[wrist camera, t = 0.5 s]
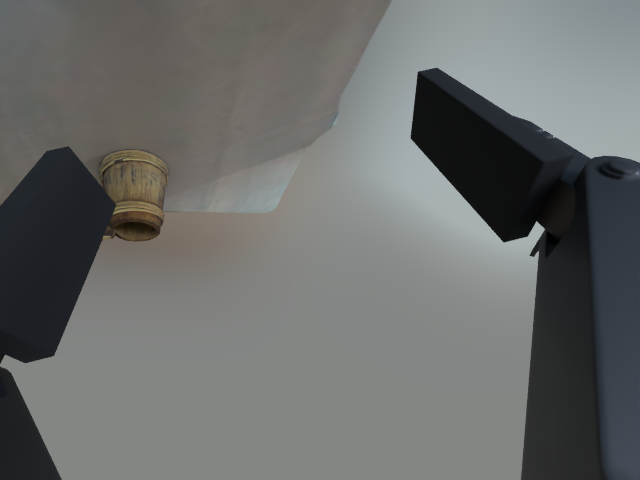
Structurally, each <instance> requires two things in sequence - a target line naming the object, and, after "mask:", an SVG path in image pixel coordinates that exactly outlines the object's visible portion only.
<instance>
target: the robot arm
mask: <svg viewBox="0 0 640 480" xmlns="http://www.w3.org/2000/svg"><path fill="white" fill-rule="evenodd" d="M411 139H412V140H413V141H414V142H415V144H416V145H417V146H418V147H419V148H420V149H421V150H422V152H423V153H424V154H425V155H426V156H427V157H428V158H429V159H430V160H431V162H432V163H433V164H434V165H435V166H436V167H437V168H438V169H439V171H440V172H441V173H442V174H443V175H444V176H445V177H446V178H447V180H448V181H449V182H450V183H451V184H452V185H453V186H454V187H455V188H456V190H457V191H458V192H459V193H460V194H461V195H462V196H463V197H464V198H465V200H466V201H467V202H468V203H469V204H470V205H471V206H472V207H473V208H474V210H475V211H476V212H477V213H478V214H479V215H480V216H481V218H482V219H483V220H484V221H485V222H486V223H487V224H488V225H489V226H490V227H491V229H492V230H493V231H494V232H495V233H496V234H497V235H498V237H500V239H501V240H502V241H503V242H507V241H511V240H515V239H519V238H523V237H527V236H528V235H529V233H530V231H531V230H532V228H533V226H534V225H535V223H536V221H537V222H538V223H539V224H540V225H541V226H543V227H544V228H545V230H544V232H543V234H542V235H541V237H540V238H539V240H538V242H537V243H536V245H535V247H534V248H533V250H532V252H531V254H530V256H533V257H534V256H535V254H536V253H537V252H538V251H539V260H538V272H537V284H536V297H535V310H534V322H533V335H532V348H531V361H530V374H529V386H528V399H527V411H526V424H525V436H524V449H523V462H522V475H521V480H640V163H639V162H636V161H633V160H631V159H626V158H621V157H616V156H615V157H614V156H601V157H594V158H592V159H590V158H589V157H587V156H585V155H584V154H582V153H580V152H579V151H577V150H576V149H574V148H572V147H571V146H569V145H568V144H566V143H564V142H562V141H561V140H559V139H558V138H556V137H555V138H553V135H551V134H550V133H548V132H546V131H543V129H542V128H540V127H538V126H537V125H535V124H533V123H532V122H530V121H527V120H524V119H521V118H518V117H515V116H512V115H510V114H509V113H507V112H506V111H504V110H502V109H501V108H499V107H498V106H496V105H494V104H493V103H491V102H490V101H488V100H487V99H485V98H484V97H482V96H480V95H479V94H477V93H476V92H474V91H473V90H471V89H469V88H468V87H466V86H465V85H463V84H462V83H460V82H458V81H457V80H455V79H454V78H452V77H451V76H449V75H448V74H446V73H444V72H443V71H441V70H440V69H438V68H433V69H429V70H425V71H419V72H418V76H417V85H416V94H415V104H414V112H413V122H412V131H411ZM115 208H116V204H115V202H114V201H113V200H112V199H111V198H110V196H109V195H108V194H107V193H106V191H105V190H104V189H103V188H102V187H101V185H100V184H99V183H98V182H97V180H96V179H95V178H94V177H93V176H92V174H91V173H90V172H89V171H88V169H87V168H86V167H85V166H84V165H83V163H82V162H81V161H80V160H79V158H78V157H77V156H76V155H75V154H74V152H73V151H72V150H71V149H70V147H69V146H68V147H64V148H59V149H54V150H50V151H46V153H45V154H44V155H43V156H42V157H41V159H40V160H39V161H38V162H37V163H36V165H35V166H34V167H33V168H32V169H31V170H30V172H29V173H28V174H27V175H26V176H25V178H24V179H23V180H22V181H21V182H20V184H19V185H18V186H17V187H16V188H15V190H14V191H13V192H12V193H11V194H10V195H9V197H8V198H7V199H6V200H5V201H4V203H3V204H2V205H1V206H0V363H1V361H2V359H3V357H4V355H8V356H10V357H12V358H14V359H17V360H19V361H21V362H24V363H28V362H32V361H35V360H40V359H44V358H48V357H52V356H54V355H55V352H56V350H57V347H58V345H59V342H60V340H61V337H62V335H63V333H64V330H65V328H66V326H67V323H68V321H69V318H70V316H71V314H72V311H73V309H74V306H75V304H76V302H77V299H78V296H79V294H80V292H81V290H82V287H83V285H84V282H85V280H86V277H87V275H88V273H89V270H90V268H91V265H92V263H93V261H94V258H95V256H96V253H97V251H98V249H99V246H100V244H101V241H102V239H103V236H104V234H105V232H106V229H107V227H108V224H109V222H110V220H111V217H112V215H113V212H114V210H115ZM0 480H61V477H60V475H59V473H58V471H57V469H56V467H55V465H54V463H53V461H52V458H51V456H50V454H49V452H48V450H47V448H46V446H45V444H44V442H43V439H42V437H41V435H40V433H39V431H38V429H37V427H36V425H35V423H34V420H33V418H32V416H31V414H30V412H29V410H28V408H27V406H26V404H25V401H24V399H23V397H22V395H21V393H20V391H19V389H18V387H17V385H16V382H15V380H14V378H13V376H12V374H11V373H10V372H9V371H8V370H7V369H5V368H2V367H0Z"/></svg>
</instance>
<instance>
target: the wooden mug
mask: <svg viewBox="0 0 640 480" xmlns="http://www.w3.org/2000/svg"><path fill="white" fill-rule="evenodd" d="M99 173H100V177H101V180H102V183H101V187H102V188H103V189H104V190H105V191H106V193H107V194H108V195H109V196H110V198H111V199H112V200H113V201H114V202H115V204H116V208H115V210H114V212H113V215H112V217H111V220H110V222H109V224H108V227H107V229H106V232H105V234H104V236H103V239H102V240H105V239H112V238H114V236H117V237H118V238H121V239H123V240H127V241H146V240H151V239H153V238H155V237H156V236H157V235H159V234H160V227H161V226H162V224H163V220H164V213H163V203H164V195H165V187H166V186H167V183H168V177H169V170H168V168H167V166H166V164H165V163H164V162H163V161H162V160H161V159H159V158H158V157H156V156H155V155H153V154H150V153H148V152H144V151H139V150H123V151H118V152H113V153H111V154H109V155H107V156H106V157H104V159H103V161H102V162H101V164H100V168H99Z"/></svg>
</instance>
